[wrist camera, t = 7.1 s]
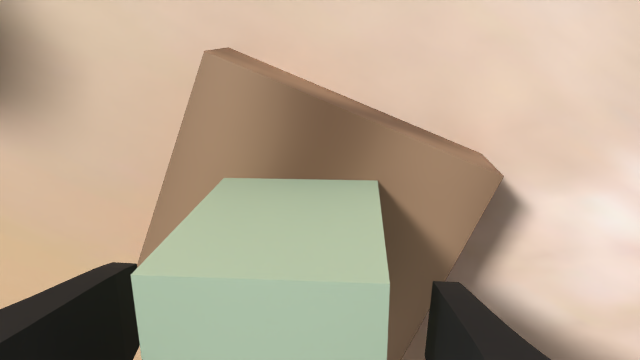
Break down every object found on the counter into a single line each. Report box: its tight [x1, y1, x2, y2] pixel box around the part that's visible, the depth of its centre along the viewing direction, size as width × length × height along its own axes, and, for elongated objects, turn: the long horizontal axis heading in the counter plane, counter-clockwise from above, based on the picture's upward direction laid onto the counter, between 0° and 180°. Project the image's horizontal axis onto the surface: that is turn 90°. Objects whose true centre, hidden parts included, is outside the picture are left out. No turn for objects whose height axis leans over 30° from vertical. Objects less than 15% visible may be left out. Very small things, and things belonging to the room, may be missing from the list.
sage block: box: [131, 178, 390, 360], centre depth 12 cm, size 4×4×6 cm
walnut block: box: [137, 48, 504, 360], centre depth 16 cm, size 9×9×3 cm
